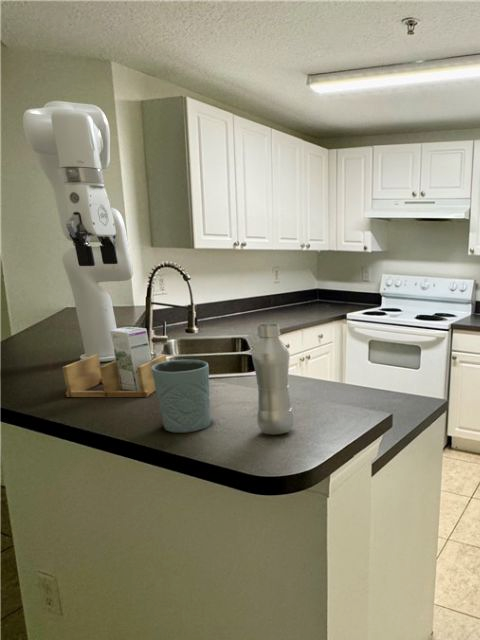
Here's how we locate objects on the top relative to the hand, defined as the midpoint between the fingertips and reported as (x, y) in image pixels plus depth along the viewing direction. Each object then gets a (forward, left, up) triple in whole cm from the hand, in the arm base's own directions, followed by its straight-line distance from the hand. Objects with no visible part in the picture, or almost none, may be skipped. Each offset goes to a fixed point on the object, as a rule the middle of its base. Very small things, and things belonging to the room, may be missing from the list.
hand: (99, 264), depth 120 cm
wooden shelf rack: (-1, -1, -29) cm, 29 cm away
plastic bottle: (+30, +43, -29) cm, 60 cm away
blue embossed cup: (+26, +25, -29) cm, 46 cm away
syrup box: (-1, +3, -29) cm, 29 cm away
